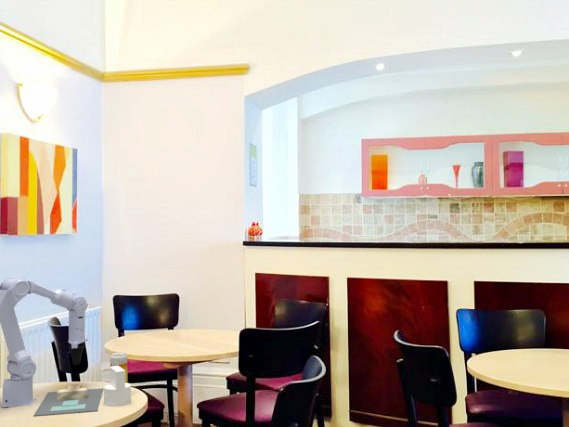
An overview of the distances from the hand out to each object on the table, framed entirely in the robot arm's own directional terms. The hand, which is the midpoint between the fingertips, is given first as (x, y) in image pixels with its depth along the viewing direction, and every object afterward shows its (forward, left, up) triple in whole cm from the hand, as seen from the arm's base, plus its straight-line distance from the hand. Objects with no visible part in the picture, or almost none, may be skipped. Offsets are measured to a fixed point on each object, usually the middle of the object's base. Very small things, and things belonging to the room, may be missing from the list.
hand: (76, 363), depth 219 cm
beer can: (+16, -11, -10) cm, 22 cm away
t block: (0, -10, -10) cm, 14 cm away
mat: (0, -16, -10) cm, 19 cm away
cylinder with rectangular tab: (+16, -22, -10) cm, 29 cm away
